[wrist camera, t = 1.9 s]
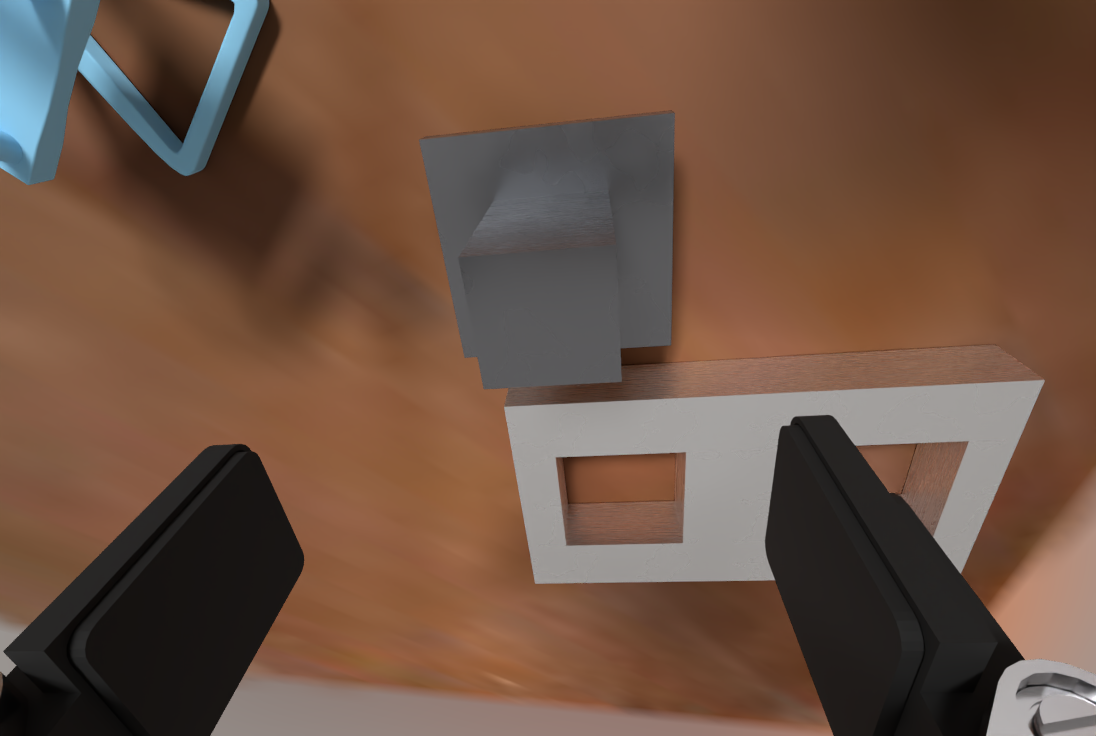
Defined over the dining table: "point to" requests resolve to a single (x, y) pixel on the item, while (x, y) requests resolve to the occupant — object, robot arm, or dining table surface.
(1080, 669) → the robot arm
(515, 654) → the dining table surface
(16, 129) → the chair
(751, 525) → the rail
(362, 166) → the dining table surface
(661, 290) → the flanged block
